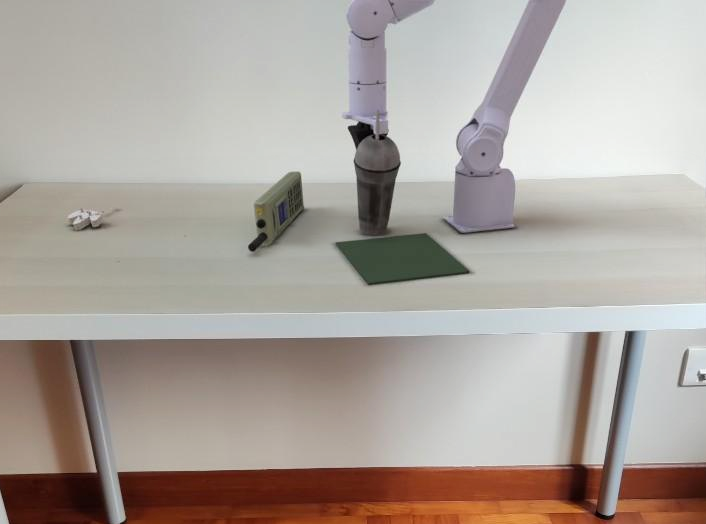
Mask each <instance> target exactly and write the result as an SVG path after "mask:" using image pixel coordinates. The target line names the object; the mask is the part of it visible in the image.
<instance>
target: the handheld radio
mask: <svg viewBox="0 0 706 524" xmlns="http://www.w3.org/2000/svg"><path fill="white" fill-rule="evenodd" d="M303 192H304V191H303V182H302V173H301V172H300V171H299V170H298V171H288V172H287V173H286V174H285V175H284V176H283V177H281V178H280V179H279V180H278V181H276V183H274V184H273V185H272V186H271V187H270V188H269V189H268V190H267V191H266V192H264V193H263V194H261V196H260V197H259V198H257V199H256V200H255V201H254V202H253V210H254V220H255V228H256V237H255V238H254V239H253V240H252V241H251V242H250V243H249V244H248V246H247V249H248V251H249V252H251V253H254V252H256V251H257V250H258V248H260V247H268V246H270V245H271V243H273V242H274V241H275V240H276V239H277V238H278V237H279V235H281V233H282V232H283V231H284V230H285V229H286V228H287V227H288V226H289V224H290V223H292V222H293V220H294V219H296V217H297V216H298V215H299V214H300V213H301V212H302V211H303V210H304V208H305V205H304V193H303Z"/></svg>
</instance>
